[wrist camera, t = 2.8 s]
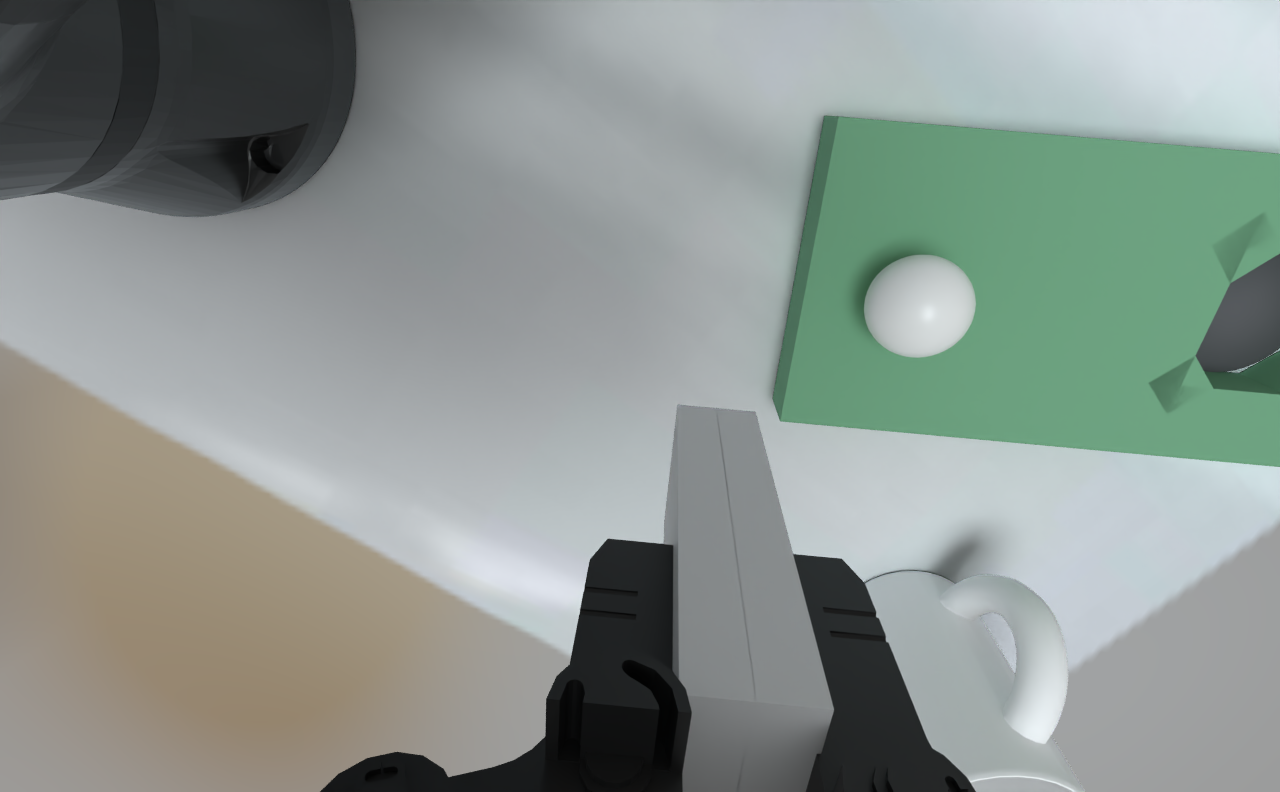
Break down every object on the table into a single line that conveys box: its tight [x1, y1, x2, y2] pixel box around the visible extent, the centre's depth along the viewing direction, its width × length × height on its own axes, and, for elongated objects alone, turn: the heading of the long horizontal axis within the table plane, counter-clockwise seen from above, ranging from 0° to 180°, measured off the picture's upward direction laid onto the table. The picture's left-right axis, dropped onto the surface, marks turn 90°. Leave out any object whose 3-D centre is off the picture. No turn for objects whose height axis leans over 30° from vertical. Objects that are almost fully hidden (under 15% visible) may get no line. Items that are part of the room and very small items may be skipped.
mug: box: [865, 571, 1086, 792], centre depth 31 cm, size 8×12×12 cm
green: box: [773, 116, 1280, 467], centre depth 23 cm, size 28×13×12 cm, turn 85°
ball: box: [864, 255, 976, 358], centre depth 25 cm, size 4×4×4 cm
